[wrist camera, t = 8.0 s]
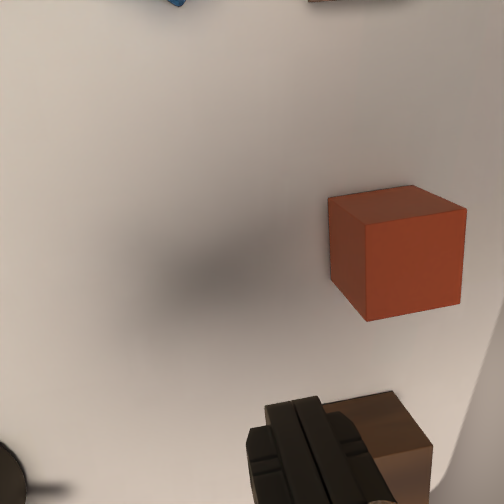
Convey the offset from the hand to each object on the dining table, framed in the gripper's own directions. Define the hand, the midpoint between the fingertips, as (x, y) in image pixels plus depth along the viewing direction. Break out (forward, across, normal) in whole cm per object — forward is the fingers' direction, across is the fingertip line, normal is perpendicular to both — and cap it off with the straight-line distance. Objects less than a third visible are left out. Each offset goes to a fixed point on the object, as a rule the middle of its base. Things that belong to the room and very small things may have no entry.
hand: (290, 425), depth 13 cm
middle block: (+14, -8, 0) cm, 16 cm away
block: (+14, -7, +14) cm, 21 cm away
